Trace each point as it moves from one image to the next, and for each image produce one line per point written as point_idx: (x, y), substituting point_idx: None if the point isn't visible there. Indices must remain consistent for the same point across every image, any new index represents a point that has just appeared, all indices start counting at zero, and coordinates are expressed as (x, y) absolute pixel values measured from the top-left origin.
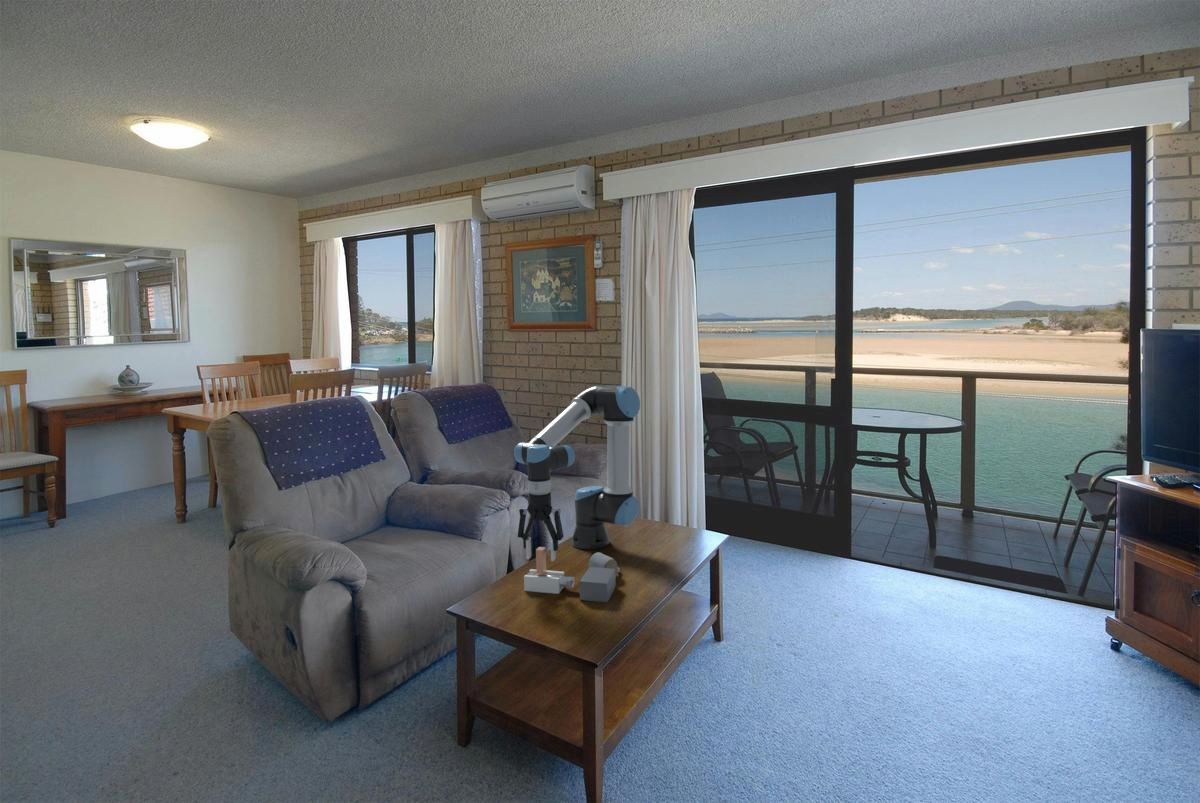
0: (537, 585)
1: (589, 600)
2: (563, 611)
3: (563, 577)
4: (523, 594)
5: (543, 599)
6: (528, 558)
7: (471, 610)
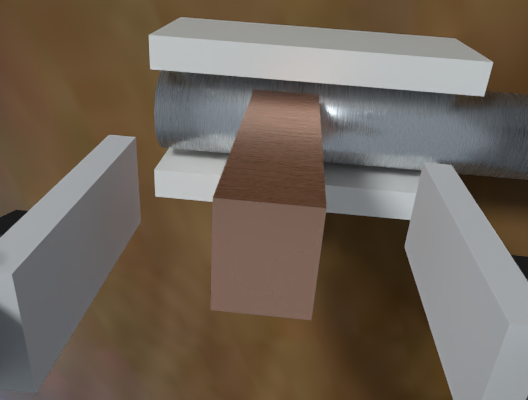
0: None
1: None
2: None
3: (486, 161)
4: (196, 201)
5: (337, 251)
6: (137, 225)
7: None
